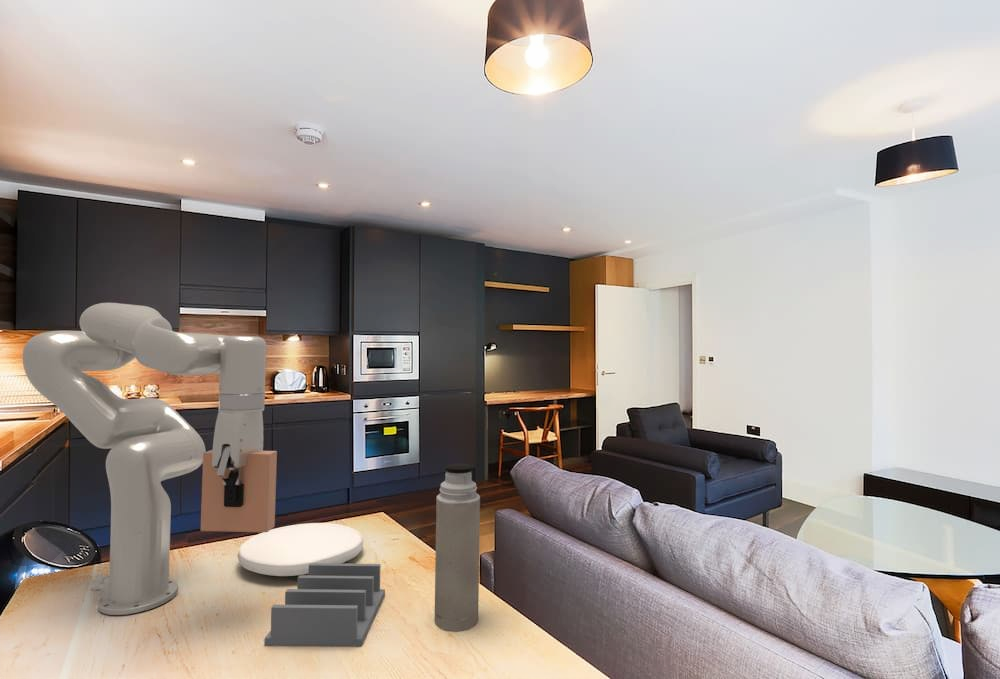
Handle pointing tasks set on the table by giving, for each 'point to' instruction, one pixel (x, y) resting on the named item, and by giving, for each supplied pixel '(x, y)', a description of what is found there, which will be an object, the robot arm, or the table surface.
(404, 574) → the table surface
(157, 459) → the robot arm
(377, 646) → the table surface
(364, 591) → the dish rack
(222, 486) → the tile
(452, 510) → the thermos bottle
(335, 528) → the plate
